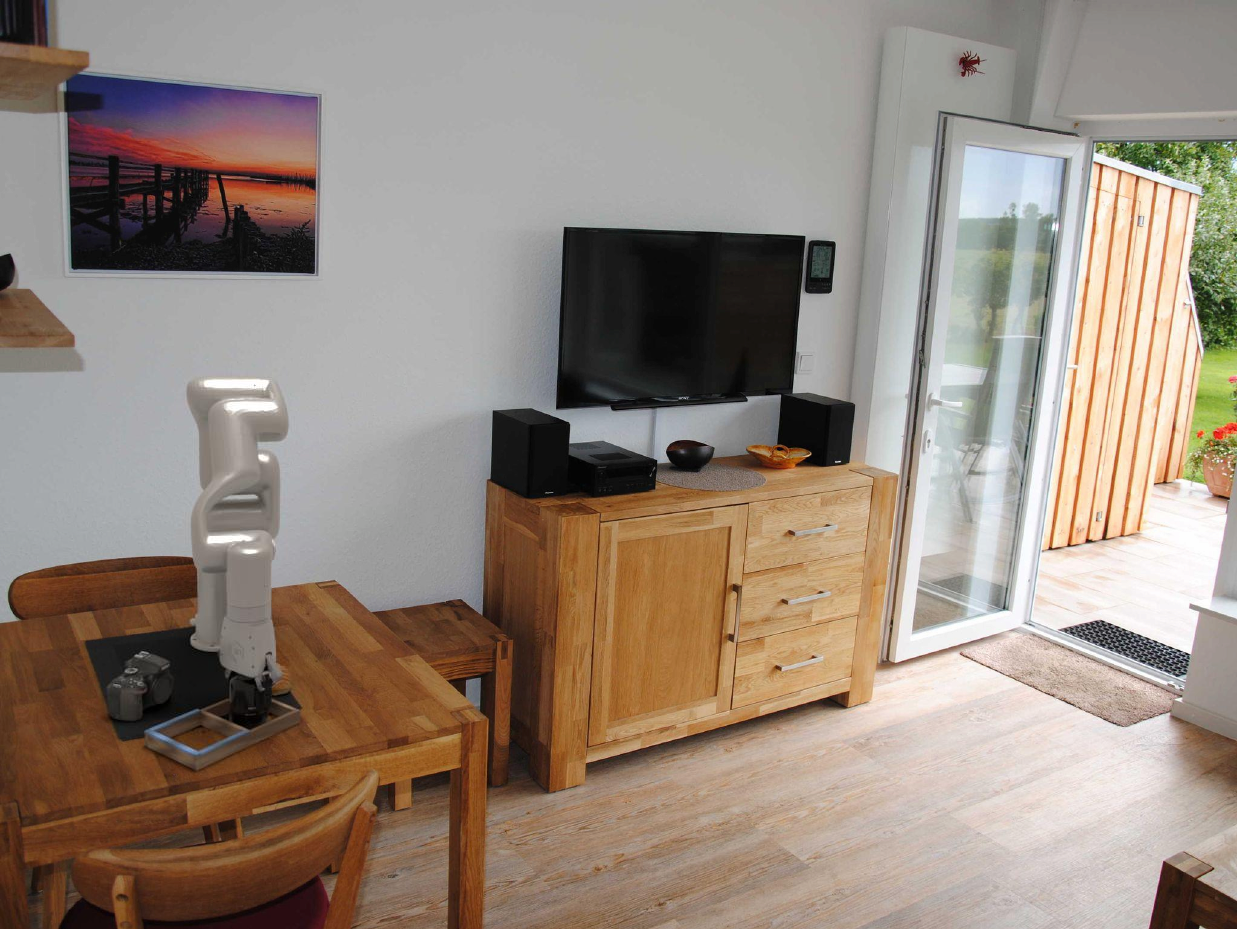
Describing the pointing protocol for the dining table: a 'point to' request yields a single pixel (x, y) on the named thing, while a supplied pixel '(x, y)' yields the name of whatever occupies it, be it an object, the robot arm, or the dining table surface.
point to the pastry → (282, 682)
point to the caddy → (210, 718)
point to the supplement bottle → (245, 703)
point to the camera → (139, 687)
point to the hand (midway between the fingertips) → (249, 701)
